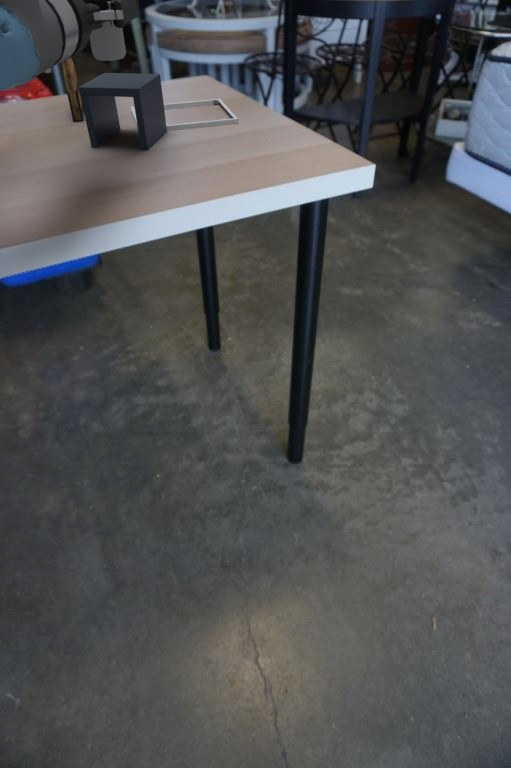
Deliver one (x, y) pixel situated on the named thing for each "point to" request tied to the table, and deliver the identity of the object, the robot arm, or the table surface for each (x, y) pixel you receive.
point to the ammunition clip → (73, 90)
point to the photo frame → (195, 124)
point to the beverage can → (108, 43)
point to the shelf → (104, 110)
